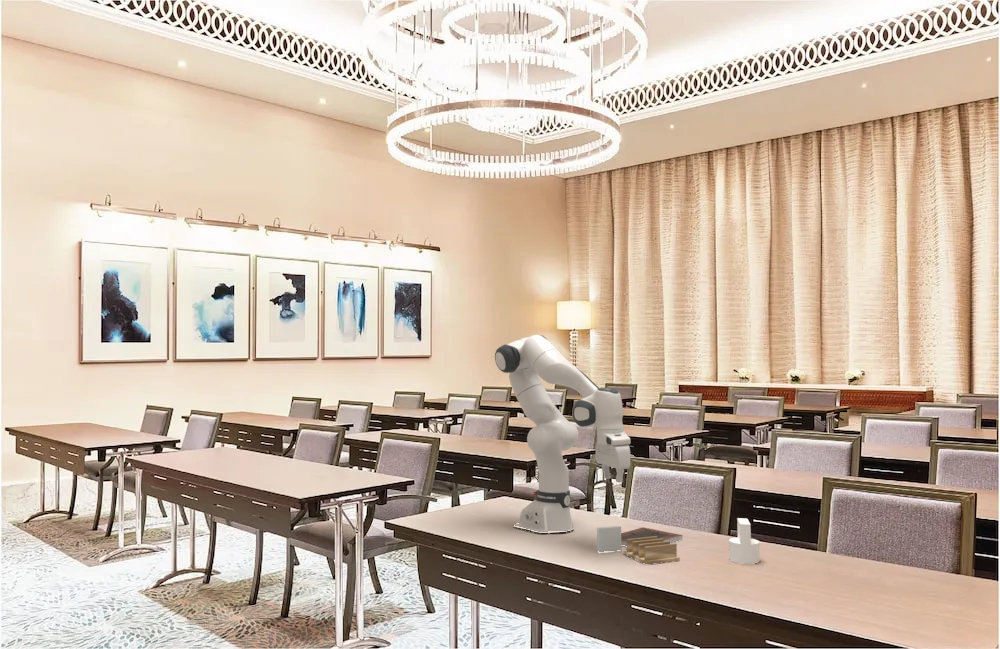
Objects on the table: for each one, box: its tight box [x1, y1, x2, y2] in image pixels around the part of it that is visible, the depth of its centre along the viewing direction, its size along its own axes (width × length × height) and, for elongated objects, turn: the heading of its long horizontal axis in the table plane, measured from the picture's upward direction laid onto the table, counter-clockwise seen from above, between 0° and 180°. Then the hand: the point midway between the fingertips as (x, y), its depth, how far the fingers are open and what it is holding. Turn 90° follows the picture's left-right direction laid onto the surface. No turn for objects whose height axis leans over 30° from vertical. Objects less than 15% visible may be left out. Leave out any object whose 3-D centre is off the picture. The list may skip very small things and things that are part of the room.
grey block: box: [596, 525, 622, 552], centre depth 245 cm, size 2×8×8 cm, turn 111°
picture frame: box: [621, 527, 684, 546], centre depth 259 cm, size 16×2×22 cm
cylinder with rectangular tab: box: [728, 517, 761, 565], centre depth 235 cm, size 9×9×12 cm
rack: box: [623, 536, 681, 565], centre depth 238 cm, size 13×12×5 cm
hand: (613, 480), depth 247 cm, fingers open, 8 cm apart
